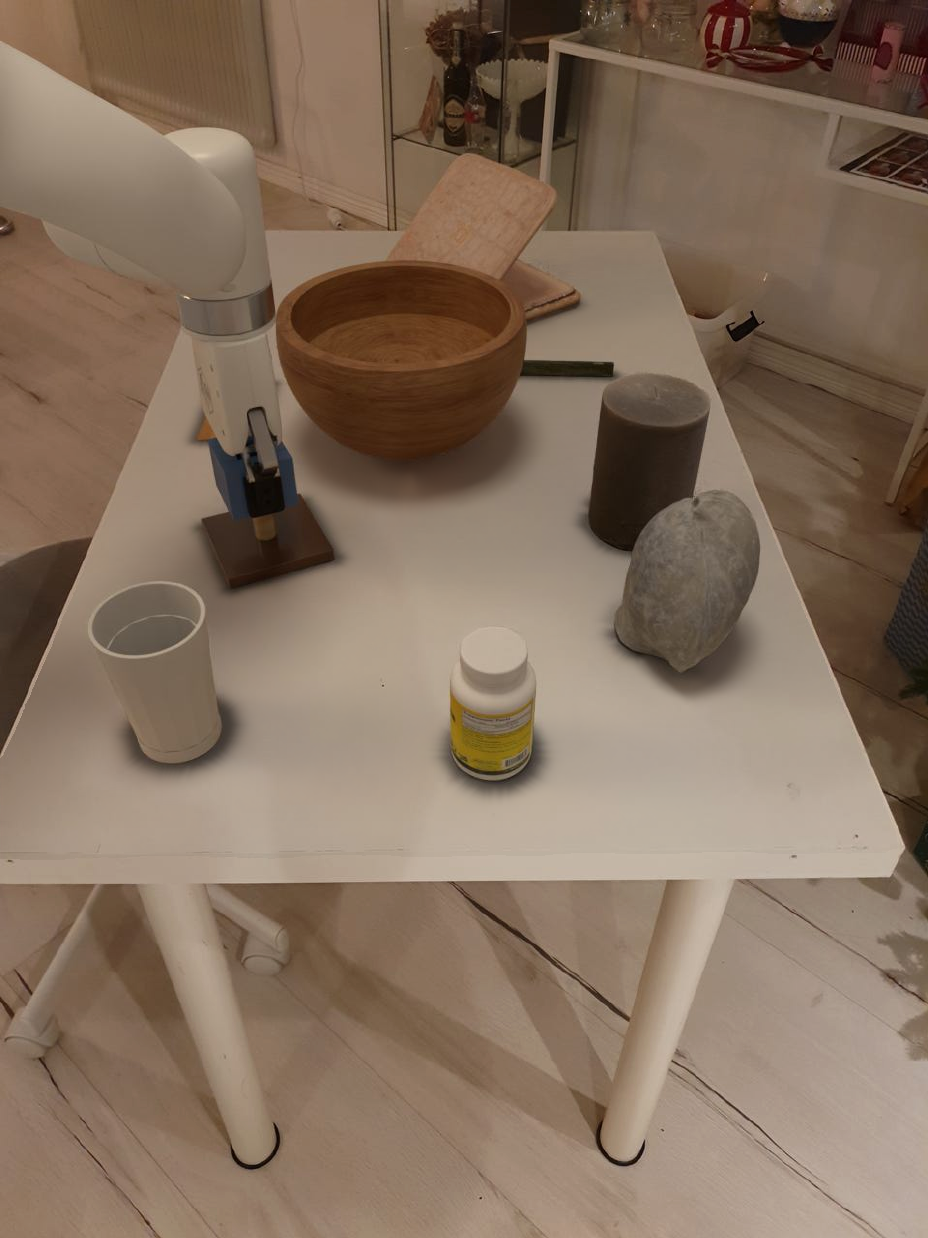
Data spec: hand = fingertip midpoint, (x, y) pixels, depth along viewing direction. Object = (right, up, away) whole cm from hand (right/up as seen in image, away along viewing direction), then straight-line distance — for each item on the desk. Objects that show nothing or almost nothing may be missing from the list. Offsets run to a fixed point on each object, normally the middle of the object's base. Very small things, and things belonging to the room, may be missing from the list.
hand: (256, 491), depth 89 cm
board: (-7, +12, +22) cm, 26 cm away
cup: (-3, -20, -13) cm, 24 cm away
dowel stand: (0, -4, +4) cm, 6 cm away
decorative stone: (+37, -13, -4) cm, 40 cm away
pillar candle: (+36, -2, +7) cm, 37 cm away
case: (+21, +32, +44) cm, 59 cm away
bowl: (+13, +8, +18) cm, 23 cm away
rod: (+21, +18, +29) cm, 40 cm away
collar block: (0, 0, 0) cm, 0 cm away
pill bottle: (+21, -22, -14) cm, 34 cm away
